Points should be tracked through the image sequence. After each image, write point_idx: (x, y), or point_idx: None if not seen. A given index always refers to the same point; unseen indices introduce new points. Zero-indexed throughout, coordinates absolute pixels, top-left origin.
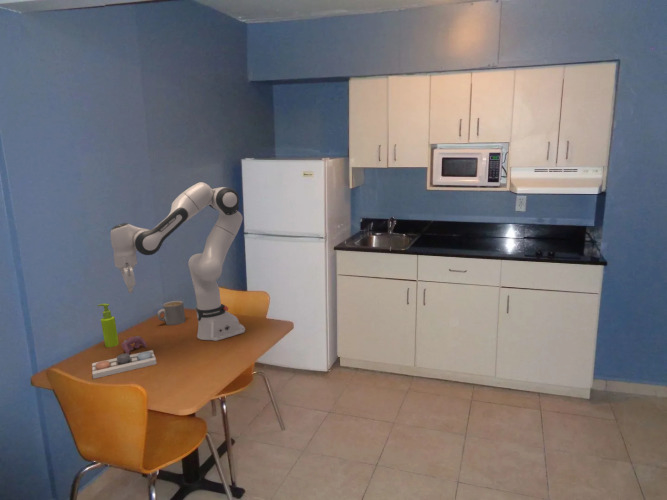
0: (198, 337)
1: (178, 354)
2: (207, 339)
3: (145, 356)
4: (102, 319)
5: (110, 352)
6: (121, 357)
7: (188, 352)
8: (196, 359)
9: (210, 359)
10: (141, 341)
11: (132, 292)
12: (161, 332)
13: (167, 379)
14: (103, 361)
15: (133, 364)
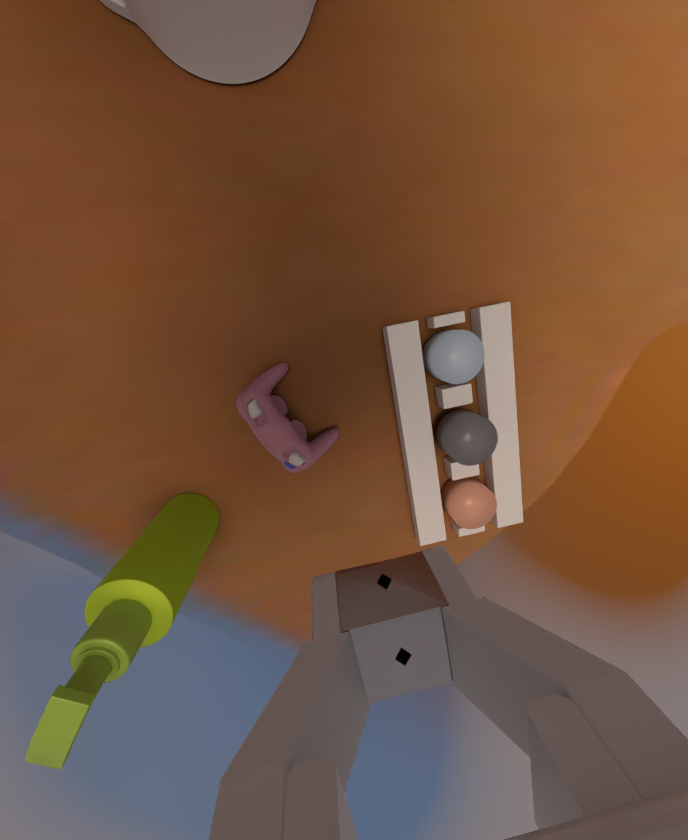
0: (261, 71)
1: (437, 205)
2: (309, 15)
3: (482, 348)
4: (149, 639)
5: (282, 506)
6: (487, 445)
7: (435, 151)
8: (540, 113)
9: (576, 35)
10: (271, 388)
11: (444, 553)
12: (79, 305)
13: (664, 251)
14: (457, 508)
15: (512, 392)
